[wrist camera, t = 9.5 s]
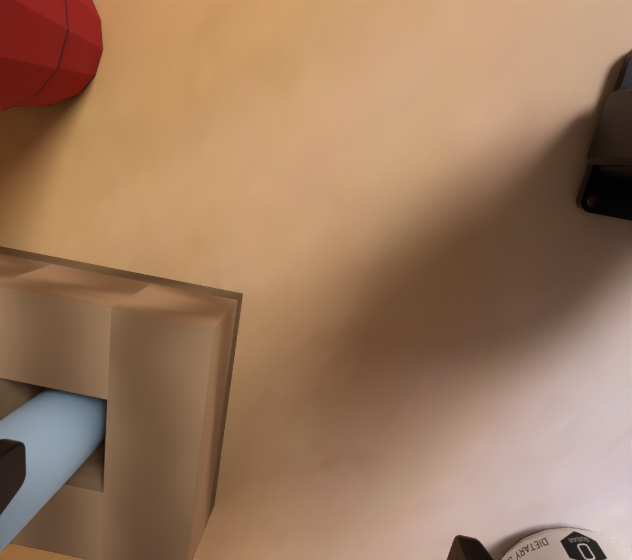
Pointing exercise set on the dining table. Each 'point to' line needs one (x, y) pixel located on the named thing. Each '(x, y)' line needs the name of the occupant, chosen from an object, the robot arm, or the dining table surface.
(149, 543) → the bore block
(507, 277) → the dining table surface
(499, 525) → the dining table surface
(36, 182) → the dining table surface
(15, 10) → the plastic cup
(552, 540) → the supplement can
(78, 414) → the pin
